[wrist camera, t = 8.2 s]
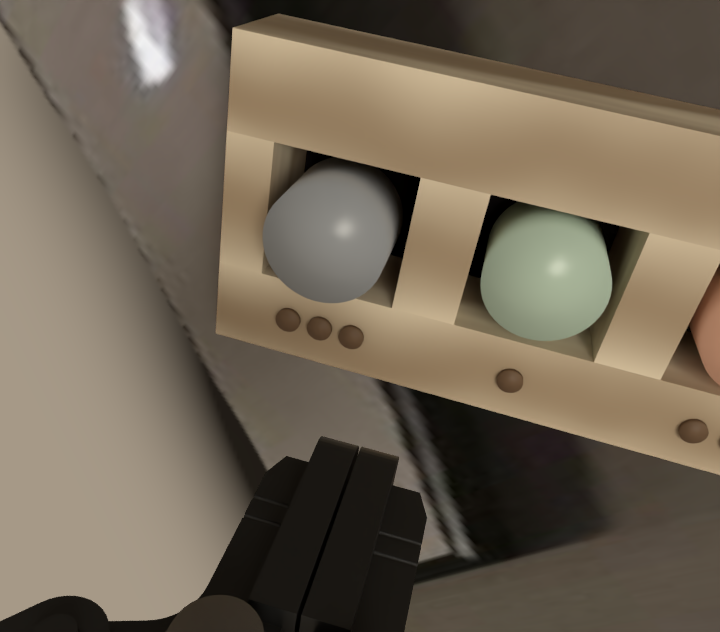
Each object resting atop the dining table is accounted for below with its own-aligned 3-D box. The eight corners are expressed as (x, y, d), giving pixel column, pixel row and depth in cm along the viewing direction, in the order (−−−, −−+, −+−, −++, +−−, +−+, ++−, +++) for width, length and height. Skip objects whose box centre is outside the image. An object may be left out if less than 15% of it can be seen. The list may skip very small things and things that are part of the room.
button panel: (278, 13, 23) (230, 28, 19) (955, 160, 20) (1040, 208, 17) (254, 286, 29) (213, 335, 25) (778, 427, 26) (814, 505, 23)
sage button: (504, 182, 23) (499, 213, 20) (622, 210, 22) (632, 246, 20) (475, 283, 25) (467, 322, 22) (582, 310, 24) (586, 354, 22)
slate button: (299, 144, 23) (268, 171, 20) (413, 172, 22) (396, 203, 20) (287, 249, 25) (257, 285, 22) (391, 276, 24) (373, 316, 22)
